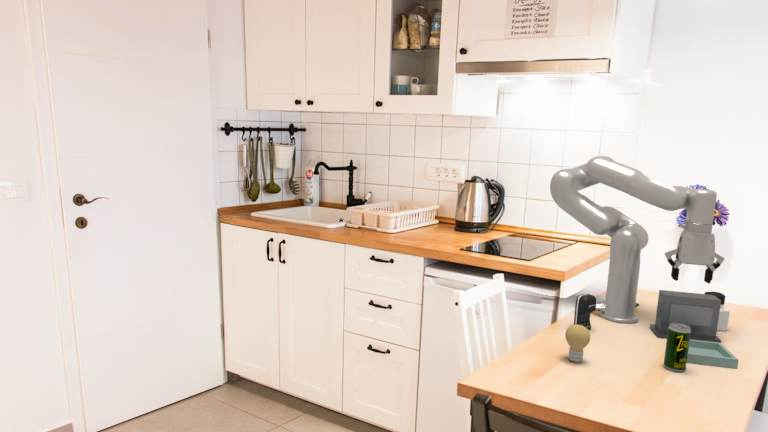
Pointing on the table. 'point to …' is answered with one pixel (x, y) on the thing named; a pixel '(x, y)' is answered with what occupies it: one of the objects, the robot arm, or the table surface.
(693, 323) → the housing
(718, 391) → the table surface
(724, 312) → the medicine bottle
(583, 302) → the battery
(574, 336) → the light bulb
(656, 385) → the table surface
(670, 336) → the beer can
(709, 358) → the tray
